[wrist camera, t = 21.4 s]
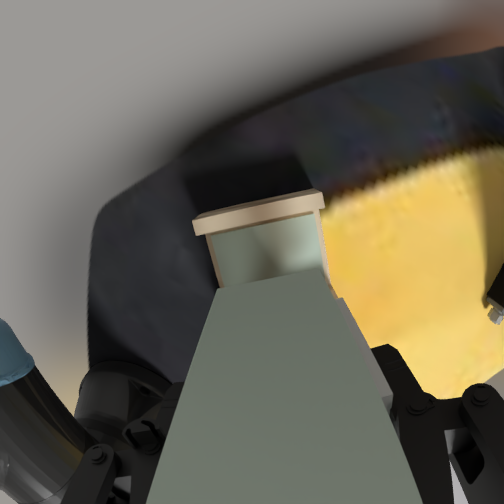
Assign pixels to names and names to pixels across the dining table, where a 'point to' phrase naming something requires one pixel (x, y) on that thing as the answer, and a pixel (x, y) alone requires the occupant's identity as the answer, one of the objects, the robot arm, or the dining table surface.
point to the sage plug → (280, 408)
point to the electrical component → (497, 298)
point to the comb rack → (266, 238)
